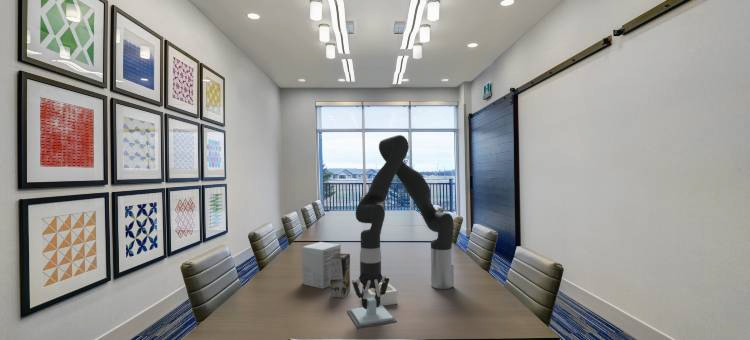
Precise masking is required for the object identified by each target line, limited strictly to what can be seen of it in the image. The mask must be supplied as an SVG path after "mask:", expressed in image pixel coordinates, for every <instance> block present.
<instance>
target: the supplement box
mask: <svg viewBox="0 0 750 340" xmlns="http://www.w3.org/2000/svg"><path fill="white" fill-rule="evenodd" d="M341 246H342V245H341V244H338V243H330V242H324V241H319V242H315V243H311V244H308V245H307V244H306V245H304V246H301V251H302V252H301V253H302V254H301V258H302V259H301V261H302V262H301V263H302V264H301V266H302V270H301V271H302V274H301V277H302V279H301V280H302V285H306V286H310V287H315V288H317V289H321V290H324V289H326V288H328V287H330V258H332V257H333V256H334V255H336V254H342V252H341Z"/></svg>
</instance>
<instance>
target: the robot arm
mask: <svg viewBox="0 0 750 340" xmlns="http://www.w3.org/2000/svg"><path fill="white" fill-rule="evenodd" d="M409 147H410V146H409V141H408V140H407V138H406V137H405V136H404V135H402V134H397V135H392V136H390V137H387V138H384V139H382V140H381V141H379V142H378V151H379V153H380V156H381V157H382V158H383V160H384V161H385V162H384V165H382V167H381V168H380V169H379V170H378V171H377V173H376V174H375V176H374V178H373V179H372V181H371V184H370V187H369V189H368V191H367V193H366V194H365V195H364V196H363V198H362V199H361V200H360V202H358V204H357V206H356V208H355V219H356V220H357V221H358V222H359V223H361V224H371V226H370V228H369V229H364V230H362V231H360V252H359V267H360V269H359V272H360V273H359V276H358V279H353V280H352V281H351V284H352V286H353V289H354V291H355V294H356V296H357V298H359V299H361V307H363V308H364V309H367V299H366V297H367V293H368V290H369V289H371V288H374V290H375V294H376V295H375V299H376V307H379V305H380V296H381V295H384V294H385V292H386V289H387V286H388V283H389V281H390V278H389V277H387V276H383V275H382V251H381V235H382V234H381V233H382V228H383V225H384V224H383V223H384V222H385V216H386V212H385V209H384V206H382V205H381V203H383V202H385V201H386V199H387V197H388V193H389V191H390V187H391V184H392V182H393V180H394V178H395V176H396V177H397V178H398V179H399V181H400V182H401V184H402V186H403V187H404V189H405V190H406V193H408V195H409V197H410V198H411V199H412V201H413V203H414V204H415V206H416V207H417V209H418V211H419V212H420V214H421V216H422V218H423V220H424V222H425V224H426V226H427V228H428V229H429V230H430V231H431V232H433V233H437V238H436V239H433V240H431V242H430V282H431V283H430V285H431V287H432V288H434V289H436V290H437V289H439V290H448V289H451V288H452V287H453V286H454V287H455V282H454V281H455V280H454V279H455V278H454V277H455V272H454V270H455V269H454V265H453V264H452V258H453V257H452V256H453V255H452V245H453V243H454V227H455V225H454V223H455V222H454V218H453V216H452V215H451V214H450V213H448V212H441V211H438V210H437V209H436V208H435V207H434V205H433V203H432V201H431V189H430V185H429V184H428V183H427V181H426V179H425V177H424V176H423V175H422V174H421V173H420V172H419V171H417V170H415V169H414V168H412V167H411V166H409V165H408V164H406V163H405V162H404V160H405V159H406V156H408V155H407V154H408V153H409ZM360 283H361V286H362V285H363V287H361V290H360V287H359V286H360ZM379 283H382V285H381V289H379Z"/></svg>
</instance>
